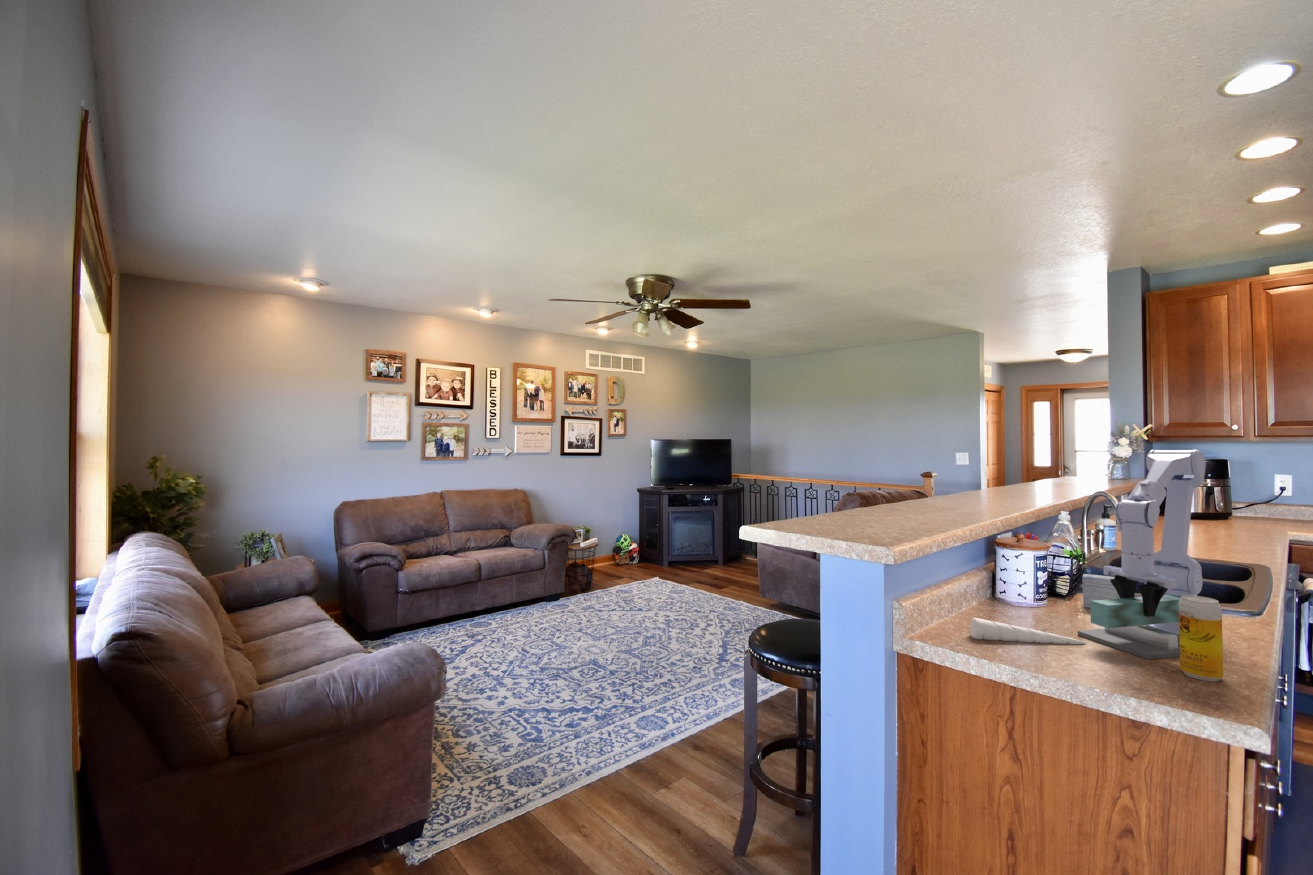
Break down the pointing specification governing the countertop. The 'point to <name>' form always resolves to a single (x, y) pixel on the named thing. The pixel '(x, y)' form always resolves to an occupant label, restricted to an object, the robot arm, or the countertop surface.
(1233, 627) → the countertop surface
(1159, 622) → the teal wavy bar
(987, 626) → the unicorn horn
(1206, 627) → the beer can
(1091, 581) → the medicine box
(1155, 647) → the ridge stand
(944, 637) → the countertop surface
